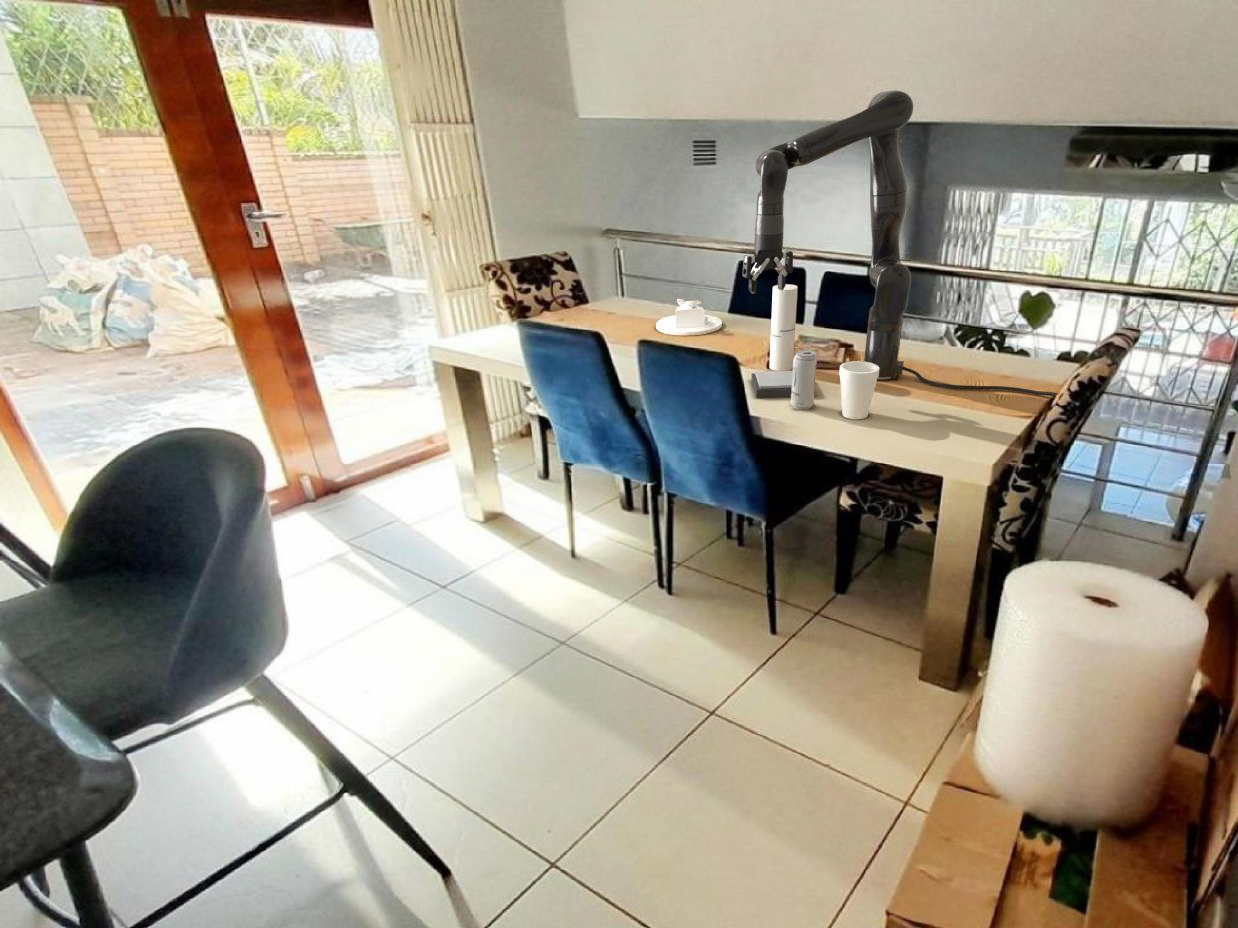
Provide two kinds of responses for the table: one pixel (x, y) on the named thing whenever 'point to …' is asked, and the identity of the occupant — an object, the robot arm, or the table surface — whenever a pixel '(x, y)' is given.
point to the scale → (772, 384)
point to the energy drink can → (803, 379)
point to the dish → (689, 320)
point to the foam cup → (857, 388)
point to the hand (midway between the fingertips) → (767, 291)
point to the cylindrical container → (783, 327)
